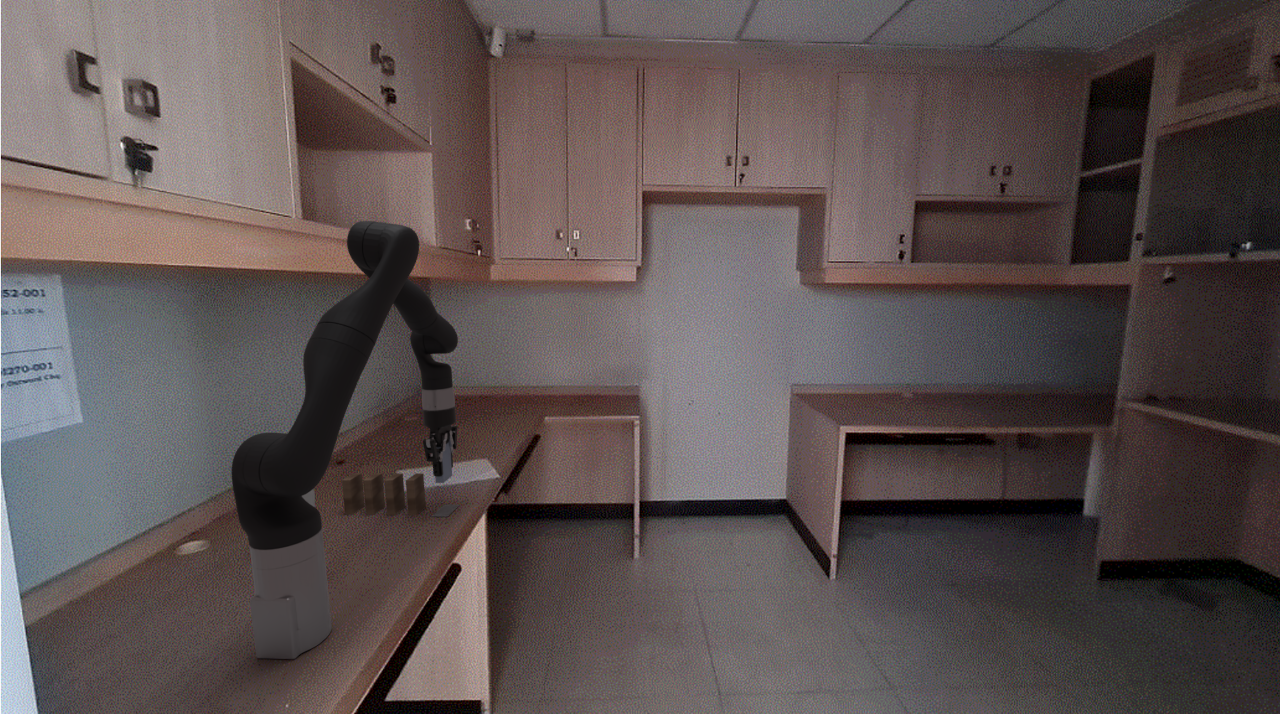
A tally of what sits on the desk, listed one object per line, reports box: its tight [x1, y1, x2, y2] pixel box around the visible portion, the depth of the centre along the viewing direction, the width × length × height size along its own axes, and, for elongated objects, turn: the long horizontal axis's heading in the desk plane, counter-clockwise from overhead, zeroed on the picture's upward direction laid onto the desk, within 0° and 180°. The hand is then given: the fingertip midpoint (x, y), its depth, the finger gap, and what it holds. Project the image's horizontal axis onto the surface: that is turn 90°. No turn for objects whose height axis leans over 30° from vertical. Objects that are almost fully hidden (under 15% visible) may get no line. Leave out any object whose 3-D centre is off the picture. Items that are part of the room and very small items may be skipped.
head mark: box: [431, 504, 460, 518], centre depth 127 cm, size 7×4×1 cm, turn 176°
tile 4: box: [362, 472, 386, 516], centre depth 127 cm, size 5×2×9 cm, turn 176°
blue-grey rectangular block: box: [434, 442, 453, 484], centre depth 125 cm, size 5×2×9 cm, turn 176°
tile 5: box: [341, 472, 365, 516], centre depth 128 cm, size 5×2×9 cm, turn 176°
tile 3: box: [383, 472, 406, 516], centre depth 127 cm, size 5×2×9 cm, turn 176°
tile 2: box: [405, 472, 427, 516], centre depth 126 cm, size 5×2×9 cm, turn 176°
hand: (443, 471), depth 125 cm, fingers closed on blue-grey rectangular block, 5 cm apart
